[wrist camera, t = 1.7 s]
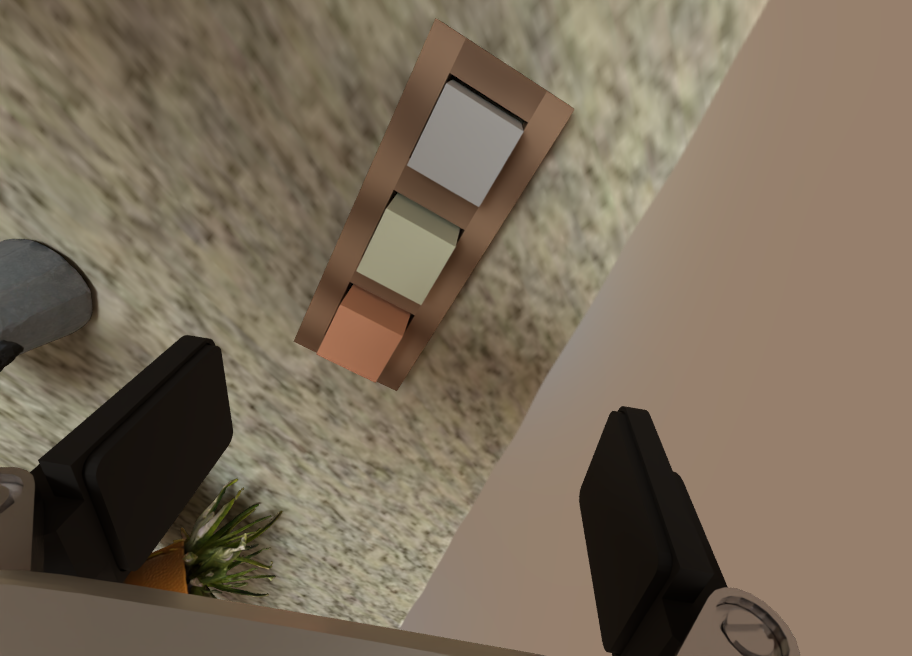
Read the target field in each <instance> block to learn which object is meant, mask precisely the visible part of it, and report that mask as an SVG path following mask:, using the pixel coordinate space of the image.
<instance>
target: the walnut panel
mask: <svg viewBox="0 0 912 656" xmlns="http://www.w3.org/2000/svg"><path fill="white" fill-rule="evenodd" d="M451 75H454V76H456V77H457V78H459V79H460V80H462V81H463V82H465V83H467V84H468V85H470V86H471V87H473V88H474V89H476V90H478V91H479V92H481V93H482V94H484V95H486V96H487V97H489V98H490V99H492V100H493V101H495V102H497V103H498V104H500V105H501V106H503V107H504V108H506V109H508V110H509V111H511V112H512V113H514V114H515V115H517V116H519V117H520V118H522V119H523V120H525V122H524V123H523V125H522V127H523V131H524V132H523V134H522V135H521V137H520V139H519V140H518V142H517V144H516V145H515V147H514V149H513V151H512V152H511V154H510V156H509V157H508V159H507V161H506V162H505V164H504V166H503V167H502V169H501V171H500V173H499V174H498V176H497V178H496V179H495V181H494V183H493V184H492V186H491V188H490V189H489V191H488V193H487V195H486V196H485V198H484V200H483V201H482V203H481V205H480V206H479V207H478V206H476V205H474V204H473V203H471V202H469V201H467V200H466V199H464V198H462V197H461V196H459V195H457V194H455V193H454V192H452V191H450V190H449V189H447V188H445V187H443V186H442V185H440V184H438V183H436V182H435V181H433V180H431V179H430V178H428V177H426V176H424V175H423V174H421V173H419V172H418V171H416V170H414V169H412V168H411V167H409V166H407V164H408V162H409V160H410V158H411V156H412V154H413V152H414V150H415V147H416V145H417V143H418V141H419V139H420V137H421V135H422V133H423V131H424V129H425V127H426V125H427V122H428V120H429V118H430V116H431V114H432V112H433V110H434V108H435V106H436V104H437V102H438V100H439V97H440V95H441V93H442V91H443V89H444V87H445V85H446V83H447V82H448V81H449V79H450V77H451ZM573 111H574V108H572V107H571V106H570V105H568V104H567V103H565V102H564V101H562V100H561V99H559V98H557V97H556V96H554V95H553V94H551V93H550V92H548V91H547V90H545V89H544V88H542V87H541V86H539V85H538V84H536V83H535V82H533V81H532V80H530V79H528V78H527V77H525V76H524V75H522V74H521V73H519V72H518V71H516V70H515V69H513V68H512V67H510V66H509V65H507V64H506V63H504V62H502V61H501V60H499V59H498V58H496V57H495V56H493V55H492V54H490V53H489V52H487V51H486V50H484V49H483V48H481V47H480V46H478V45H476V44H475V43H473V42H472V41H470V40H469V39H467V38H466V37H464V36H463V35H461V34H460V33H458V32H457V31H455V30H454V29H452V28H451V27H449V26H447V25H446V24H444V23H443V22H441V21H440V20H438V19H436V18H435V21H434V23H433V25H432V28H431V30H430V32H429V34H428V37H427V39H426V41H425V43H424V46H423V48H422V50H421V53H420V55H419V57H418V59H417V62H416V64H415V66H414V69H413V71H412V73H411V75H410V78H409V80H408V82H407V84H406V87H405V89H404V91H403V94H402V96H401V98H400V100H399V103H398V105H397V107H396V110H395V112H394V114H393V116H392V119H391V121H390V123H389V125H388V128H387V130H386V132H385V135H384V137H383V139H382V141H381V144H380V146H379V148H378V151H377V153H376V155H375V157H374V160H373V162H372V164H371V166H370V169H369V171H368V173H367V176H366V178H365V180H364V182H363V185H362V187H361V189H360V192H359V194H358V196H357V198H356V201H355V203H354V205H353V207H352V210H351V212H350V214H349V217H348V219H347V221H346V223H345V226H344V228H343V230H342V233H341V235H340V237H339V239H338V242H337V244H336V246H335V248H334V251H333V253H332V255H331V258H330V260H329V262H328V264H327V267H326V269H325V271H324V274H323V276H322V278H321V280H320V283H319V285H318V287H317V289H316V292H315V294H314V296H313V299H312V301H311V303H310V305H309V308H308V310H307V312H306V315H305V317H304V319H303V321H302V324H301V326H300V328H299V330H298V333H297V335H296V337H295V340H294V342H296V343H298V344H300V345H302V346H304V347H306V348H308V349H310V350H312V351H314V352H316V353H317V352H318V350H319V348H320V345H321V343H322V341H323V339H324V337H325V335H326V333H327V331H328V329H329V327H330V325H331V323H332V320H333V318H334V316H335V314H336V312H337V310H338V308H339V306H340V304H341V302H342V301H343V299H344V297H345V295H346V293H347V291H348V289H349V287H350V285H351V283H353V284H355V285H357V286H359V287H361V288H363V289H365V290H367V291H369V292H371V293H373V294H375V295H377V296H378V297H380V298H382V299H384V300H386V301H388V302H390V303H392V304H394V305H396V306H398V307H400V308H402V309H404V310H406V311H407V312H409V313H411V314H412V315H411V317H410V318H409V320H408V323H407V326H406V329H405V332H404V334H403V337H402V339H401V340H400V342H399V344H398V345H397V347H396V349H395V350H394V352H393V354H392V356H391V357H390V359H389V361H388V362H387V364H386V366H385V367H384V369H383V371H382V372H381V374H380V376H379V378H378V379H377V382H379V383H381V384H383V385H385V386H387V387H389V388H391V389H393V390H395V391H397V390H398V388H399V387H400V385H401V384H402V382H403V381H404V379H405V377H406V376H407V374H408V373H409V371H410V369H411V368H412V366H413V365H414V363H415V362H416V360H417V358H418V357H419V355H420V354H421V352H422V350H423V349H424V347H425V346H426V344H427V343H428V341H429V339H430V338H431V336H432V335H433V333H434V331H435V330H436V328H437V327H438V325H439V323H440V322H441V320H442V319H443V317H444V316H445V314H446V312H447V311H448V309H449V308H450V306H451V304H452V303H453V301H454V300H455V298H456V297H457V295H458V293H459V292H460V290H461V289H462V287H463V285H464V284H465V282H466V281H467V279H468V278H469V276H470V274H471V273H472V271H473V270H474V268H475V266H476V265H477V263H478V262H479V260H480V258H481V257H482V255H483V254H484V252H485V251H486V249H487V247H488V246H489V244H490V243H491V241H492V239H493V238H494V236H495V235H496V233H497V232H498V230H499V228H500V227H501V225H502V224H503V222H504V220H505V219H506V217H507V216H508V214H509V213H510V211H511V209H512V208H513V206H514V205H515V203H516V201H517V200H518V198H519V197H520V195H521V193H522V192H523V190H524V189H525V187H526V186H527V184H528V182H529V181H530V179H531V178H532V176H533V174H534V173H535V171H536V170H537V168H538V167H539V165H540V163H541V162H542V160H543V159H544V157H545V155H546V154H547V152H548V151H549V149H550V147H551V146H552V144H553V143H554V141H555V140H556V138H557V136H558V135H559V133H560V132H561V130H562V128H563V127H564V125H565V124H566V122H567V121H568V119H569V117H570V116H571V114H572V113H573ZM395 191H397V192H398V193H400V194H402V195H404V196H406V197H407V198H409V199H411V200H413V201H414V202H416V203H418V204H420V205H421V206H423V207H425V208H427V209H428V210H430V211H432V212H434V213H435V214H437V215H439V216H441V217H442V218H444V219H446V220H448V221H450V222H451V223H453V224H455V225H457V226H458V227H460V228H462V229H461V231H460V233H459V235H458V239H457V243H456V247H455V249H454V250H453V252H452V254H451V256H450V257H449V259H448V261H447V262H446V264H445V266H444V267H443V269H442V271H441V273H440V274H439V276H438V278H437V279H436V281H435V283H434V284H433V286H432V288H431V289H430V291H429V293H428V295H427V296H426V298H425V300H424V301H423V303H422V305H420V304H418V303H416V302H414V301H412V300H410V299H408V298H406V297H405V296H403V295H401V294H399V293H397V292H395V291H393V290H391V289H389V288H387V287H385V286H384V285H382V284H380V283H378V282H376V281H374V280H372V279H370V278H368V277H366V276H364V275H363V274H361V273H359V272H357V271H356V270H357V268H358V266H359V264H360V262H361V260H362V258H363V256H364V254H365V252H366V250H367V248H368V245H369V243H370V241H371V239H372V237H373V235H374V233H375V231H376V229H377V227H378V225H379V223H380V220H381V218H382V216H383V214H384V212H385V210H386V208H387V207H388V205H389V204H390V202H391V200H392V198H393V196H394V193H395Z"/></svg>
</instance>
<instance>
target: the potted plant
mask: <svg viewBox="0 0 912 656" xmlns="http://www.w3.org/2000/svg"><path fill="white" fill-rule="evenodd" d="M237 480H238V479H235V480H233V481H230V482H228V483H227V484H226V485H224V486H223V489H222V491H221V492H220V494H219V495H218V496H217V498H216V499H215V500H214V501H213V502H212V504H211V505H210V506H208V507H207V509H206V510H205V511H204V512H203V513H202V514H201V515H200V516H199V517H198V519H197V520H196V523H195V525H194V527H193V531H192V533H191V535H190V538H189V537H188V535H187V534H186V532H185V530H184V528H181V535H182V539H179V540H174V541H173V542H174V543H173V544H171V545H169V546H167V547H165V548H162V549H160V550H157V551H155V552H153V553H151V554H150V556H149V557H148V558H147V560H146V561H145V563H144V564H143V565H142V566H141V567H140V568H139V569H138V570H136V571H131V572H130V573H129V575H128V576H127V577H126V579H125V580H124V582H123V584H130V585H137V586H143V587H149V588H155V589H161V590H167V591H173V592H179V593H185V594H191V595H197V596H203V597H209V598H215V599H217V598H216V597H215V596H214V595H213V594H212V592H214V593H222V592H219V591H218V590H211V591H210V589H209V588H208V587H209V586H210V587H215V588H216V589H219V590H222V591H226V592H231V593H236V594H241V595H248V596H252V597H265V596H268V595H269V594H268V593H267V594H259V593H257V594H255V593H251V592H248V591H244V590H239V589H233V588H228V587H233V586H234V587H242V586H246V585H248V583H246V582H244V583H236V584H229V585H223V584H224V583H228V582H234V581H241V580H247V579H251V578H269V579H270V580H271V581H272V579H274V578H275V577H276V576H275V575H255V576H244V575H245V574H246V573H248V572H250V571H253V570H257V569H258V568H252V569H249V570H246V571H242V572H240V573H236V574H233V575H226V572H227V571H228V570H230V569H231V568H233V567H234V566H236V565H239V564H242V563H249V564H253V565H255V566H259V567H261V568H266V569H270V568H271V567H272V566H266V565H263V564H261V563H259V562H257V561H254V560H251V559H249V558H250V557H252V556H255V555H257V554H258V553H260V552H261V551H262V550H260V551H257V552H255V553H253V554H251V555H248V556H246V557H243V556H244V555H243V556H242V557H240V556H239V554H240V552H241V551H243V550H249V549H252V548H254V547H256V546H258V545H259V544H256V545H255V544H254V545H251V547H250V546H246V544H247V543H248V542H250V541H252V540H254V539H255V538H257V537H258V536H259V535H261V534H262V533H263V532H264V531H265V530H267V529H268V528H269V527H270V526H271V525H272V524H273V523H274V522H275V521H276V520H277V519H278V518H279V516H280V515H281V513H282V511H279V512H278V513H277V515H276V516H275V517H274V518H273V519H271V521H270V522H269V523H268V524H267V525H266V526H265V527H263V528H262V529H261V528H259V529H258V530H257V531H256V532H249V533H247V534H246V533H244V534H243V535H241V536H238V537H237V535H236V534H238V533H240V532H241V531H243V530H245V529H247V528H249V527H250V526H252V525H254V524H255V523H258V522H260V521H263V520H265V519H267V518H269V517H272V516H271V515H270V516H267V517H264V518H261V519H258V520H256V521H254V522H252V523H250V524H248V525H246V526H244V527H242V528H240V529H238V530H235V531H233V532H232V533H230V532H231V531H232V529H233V528H234V527H235V526H236V525H237V524H238V523H240V522H241V521H242V520H243V519H245V518H246V517H247V516H248V515H250V514H251V513H252V512H254V511H255V510H256V509H254V508H255V507H257V506H259V504H256V505H253V506H251V507H249V508H248V509H246V510H245V511H243V512H242V513H240V514H239V515H238V516H236V517H235V518H234V519H233V520H231V521H230V522H229V523H227V524H226V525H225V526H223V527H222V528H221V529H220V530H218V531H217V532H216V533H215V534H213V533H214V531H215V530H216V529H217V527H218V526H219V524H220V522H221V521H222V520H223V519H224V517H225V515H226V514H227V513H228V511H229V510H230V509H231V507H232V505H233V504H234V500H237V499H238V497H239V495H240V493H241V490H244V487H243V488H242V489H241V490H239V491H238V493H237V495H236V497H235V499H234V498H233V499H232V500H231V501H230V502H228V503H227V504H226V505H223V507H222V509H221V510H219V512H218V513H217V514H216V515H215V513H214V512H215V510H216V508H217V506H218V504H219V502H220V500H221V498H222V496H223V494H224V493H225V490H226V488H227V487H228V486H230V485H232V484H233V483H235V482H236V481H237ZM229 533H230V534H229ZM248 534H252V535H250V536H248V537H247V536H246V535H248ZM241 537H242V539H239V540H237V541H234V542H231V541H233V540H235V539H238V538H241ZM229 542H231V543H229ZM227 543H228V544H227ZM225 544H226V545H225ZM270 549H271V548H266V549H265V548H263V550H270ZM234 560H238V561H235V562H233V561H234ZM272 564H273V562H272V561H271V565H272ZM241 576H243V577H241ZM221 583H222V584H221Z"/></svg>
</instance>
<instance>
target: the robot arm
mask: <svg viewBox="0 0 912 656" xmlns="http://www.w3.org/2000/svg"><path fill="white" fill-rule="evenodd" d="M232 436H233V427H232V420H231V413H230V406H229V400H228V393H227V386H226V379H225V373H224V366H223V359H222V353H221V349H220V348H219V347H218V346H215V343H214V341H213V340H211V339H208V338H202V337H196V336H190V335H185V336H183V337H181V338H180V339H179V340H178V341H176V342H175V343H174V344H173V345H172V346H171V347H169V348H168V349H167V350H166V351H165V352H164V353H162V354H161V355H160V356H159V357H158V358H157V359H156V360H154V361H153V362H152V363H151V364H150V365H149V366H147V367H146V368H145V369H144V370H143V371H142V372H140V373H139V374H138V375H137V376H136V377H135V378H133V379H132V380H131V381H130V382H129V383H128V384H126V385H125V386H124V387H123V388H122V389H121V390H119V391H118V392H117V393H116V394H115V395H114V396H112V397H111V398H110V399H109V400H108V401H107V402H105V403H104V404H103V405H102V406H101V407H100V408H98V409H97V410H96V411H95V412H94V413H93V414H91V415H90V416H89V417H88V418H87V419H86V420H84V421H83V422H82V423H81V424H80V425H79V426H77V427H76V428H75V429H74V430H73V431H72V432H70V433H69V434H68V435H67V436H66V437H65V438H63V439H62V440H61V441H60V442H59V443H58V444H56V445H55V446H54V447H53V448H52V449H51V450H49V451H48V452H47V453H46V454H45V455H44V456H42V457H41V458H40V459H39V460H38V461H39V463H40V464H39V465H38V466H37V467H36V468H35V469H33V470H32V471H31V472H30V473H29V472H28V471H27V470H24V469H20V468H16V467H0V656H544V655H539V654H534V653H529V652H523V651H518V650H512V649H506V648H501V647H495V646H489V645H483V644H478V643H472V642H466V641H461V640H455V639H450V638H444V637H438V636H432V635H427V634H421V633H415V632H409V631H404V630H398V629H392V628H387V627H381V626H375V625H369V624H363V623H358V622H352V621H346V620H340V619H334V618H328V617H322V616H317V615H311V614H305V613H299V612H293V611H287V610H281V609H275V608H270V607H264V606H258V605H252V604H246V603H240V602H234V601H228V600H221V599H215V598H209V597H203V596H197V595H191V594H185V593H179V592H173V591H167V590H161V589H155V588H149V587H143V586H137V585H130V584H123V582H124V580H125V579H126V577H127V576H128V575H129V573H130V572H131V571H136V570H138V569H139V568H140V567H141V566H142V565H143V564H144V563H145V561H146V560H147V558H148V557H149V556H150V554H151V553H152V551H153V550H154V549H155V547H156V546H157V545H158V543H159V542H160V540H161V539H162V538H163V536H164V535H165V533H166V532H167V531H168V529H169V528H170V526H171V525H172V524H173V522H174V521H175V519H176V518H177V517H178V515H179V514H180V512H181V511H182V510H183V508H184V507H185V505H186V504H187V503H188V501H189V500H190V499H191V497H192V496H193V494H194V493H195V492H196V490H197V489H198V487H199V486H200V485H201V483H202V482H203V480H204V479H205V478H206V476H207V475H208V473H209V472H210V471H211V469H212V468H213V466H214V465H215V464H216V462H217V461H218V459H219V458H220V457H221V455H222V454H223V452H224V451H225V450H226V448H227V447H228V445H229V444H230V442H231V439H232ZM579 503H580V510H581V515H582V521H583V528H584V534H585V539H586V545H587V552H588V558H589V564H590V569H591V575H592V582H593V588H594V594H595V600H596V606H597V612H598V618H599V624H600V630H601V636H602V642H603V646H604V649H605V651H606V652H610V653H612V656H800V652H799V649H798V646H797V642H796V639H795V637H794V636H793V634H792V632H791V630H790V629H789V627H788V626H787V624H786V623H785V622H784V621H783V620H782V618H781V617H780V616H779V615H778V614H777V613H776V612H775V611H774V610H773V609H772V608H771V607H770V606H768V605H767V604H766V603H765V602H764V601H762V600H760V599H759V598H757V597H755V596H753V595H752V594H750V593H748V592H745V591H742V590H740V589H737V588H728V587H727V585H726V582H725V580H724V577H723V575H722V573H721V570H720V568H719V566H718V563H717V561H716V559H715V556H714V554H713V551H712V549H711V546H710V544H709V542H708V540H707V537H706V535H705V532H704V530H703V527H702V525H701V523H700V520H699V518H698V516H697V513H696V511H695V508H694V506H693V504H692V501H691V499H690V496H689V494H688V492H687V490H686V487H685V485H684V482H683V480H682V479H681V477H680V476H679V475H678V474H677V473H676V472H673V471H672V468H671V466H670V464H669V461H668V458H667V456H666V453H665V451H664V448H663V446H662V443H661V441H660V439H659V436H658V434H657V431H656V429H655V426H654V424H653V421H652V419H651V416H650V414H649V412H648V411H647V410H642V409H636V408H631V407H624V406H622V407H620V408H619V410H618V412H616V411H612V412H611V413H610V415H609V417H608V420H607V422H606V425H605V428H604V430H603V433H602V435H601V438H600V440H599V443H598V445H597V448H596V450H595V453H594V455H593V458H592V461H591V463H590V466H589V468H588V471H587V473H586V476H585V478H584V481H583V484H582V486H581V489H580V496H579Z"/></svg>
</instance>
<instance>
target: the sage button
mask: <svg viewBox="0 0 912 656" xmlns="http://www.w3.org/2000/svg"><path fill="white" fill-rule="evenodd" d="M459 231H460V227H458V226H457V225H455V224H453V223H451V222H450V221H448V220H446V219H444V218H442V217H441V216H439V215H437V214H435V213H434V212H432V211H430V210H428V209H427V208H425V207H423V206H421V205H420V204H418V203H416V202H414V201H413V200H411V199H409V198H407V197H406V196H404V195H402V194H400V193H397V195H396V196H395V197H394V199H393V200H392V201H391V203H390V204H389V205H388V207H387V208H386V210H385V212H384V214H383V216H382V218H381V220H380V223H379V225H378V227H377V229H376V231H375V233H374V235H373V237H372V239H371V241H370V243H369V245H368V248H367V250H366V252H365V254H364V256H363V258H362V260H361V262H360V264H359V266H358V268H357V270H356V271H357V272H359V273H361V274H363V275H364V276H366V277H368V278H370V279H372V280H374V281H376V282H378V283H380V284H382V285H384V286H385V287H387V288H389V289H391V290H393V291H395V292H397V293H399V294H401V295H403V296H405V297H406V298H408V299H410V300H412V301H414V302H416V303H418V304H420V305H422V303H423V301H424V300H425V298H426V296H427V295H428V293H429V291H430V289H431V288H432V286H433V284H434V283H435V281H436V279H437V278H438V276H439V274H440V273H441V271H442V269H443V267H444V266H445V264H446V262H447V261H448V259H449V257H450V256H451V254H452V252H453V250H454V249H455V247H456V243H457V239H458V235H459Z"/></svg>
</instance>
